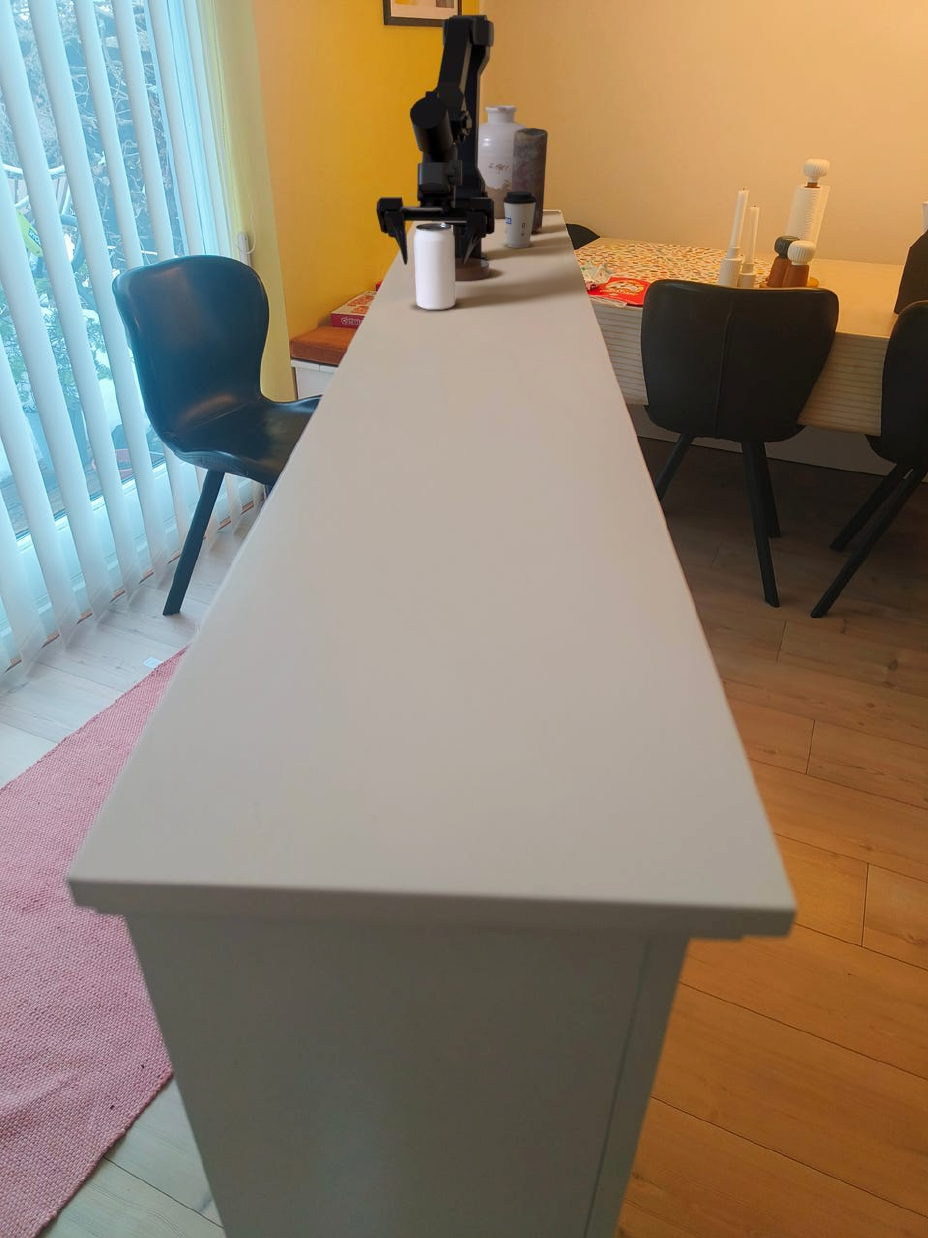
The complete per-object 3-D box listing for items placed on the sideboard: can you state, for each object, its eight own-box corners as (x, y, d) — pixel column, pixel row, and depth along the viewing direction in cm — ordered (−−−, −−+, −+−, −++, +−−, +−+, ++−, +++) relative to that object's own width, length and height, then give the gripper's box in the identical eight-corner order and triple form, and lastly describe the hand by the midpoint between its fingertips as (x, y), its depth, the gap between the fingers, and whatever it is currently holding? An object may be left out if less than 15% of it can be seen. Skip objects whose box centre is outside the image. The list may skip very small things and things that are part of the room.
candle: (546, 229, 186) (551, 127, 175) (538, 236, 181) (542, 131, 169) (514, 228, 188) (517, 127, 177) (505, 234, 183) (507, 130, 171)
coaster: (438, 269, 156) (438, 258, 154) (485, 268, 156) (485, 257, 155) (442, 281, 148) (442, 269, 147) (491, 279, 149) (492, 268, 148)
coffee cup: (537, 242, 175) (539, 190, 169) (532, 249, 169) (534, 195, 164) (505, 241, 176) (506, 189, 170) (499, 248, 171) (500, 194, 165)
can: (415, 300, 138) (412, 222, 131) (454, 299, 138) (452, 221, 131) (417, 311, 132) (413, 230, 125) (456, 310, 133) (455, 229, 126)
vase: (475, 222, 194) (475, 109, 181) (461, 210, 207) (460, 104, 194) (539, 219, 197) (543, 107, 184) (521, 208, 210) (525, 103, 196)
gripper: (373, 138, 125) (367, 230, 123) (495, 138, 124) (491, 231, 122) (384, 188, 136) (378, 274, 134) (496, 188, 135) (492, 275, 133)
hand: (433, 263), depth 130 cm, fingers open, 9 cm apart
